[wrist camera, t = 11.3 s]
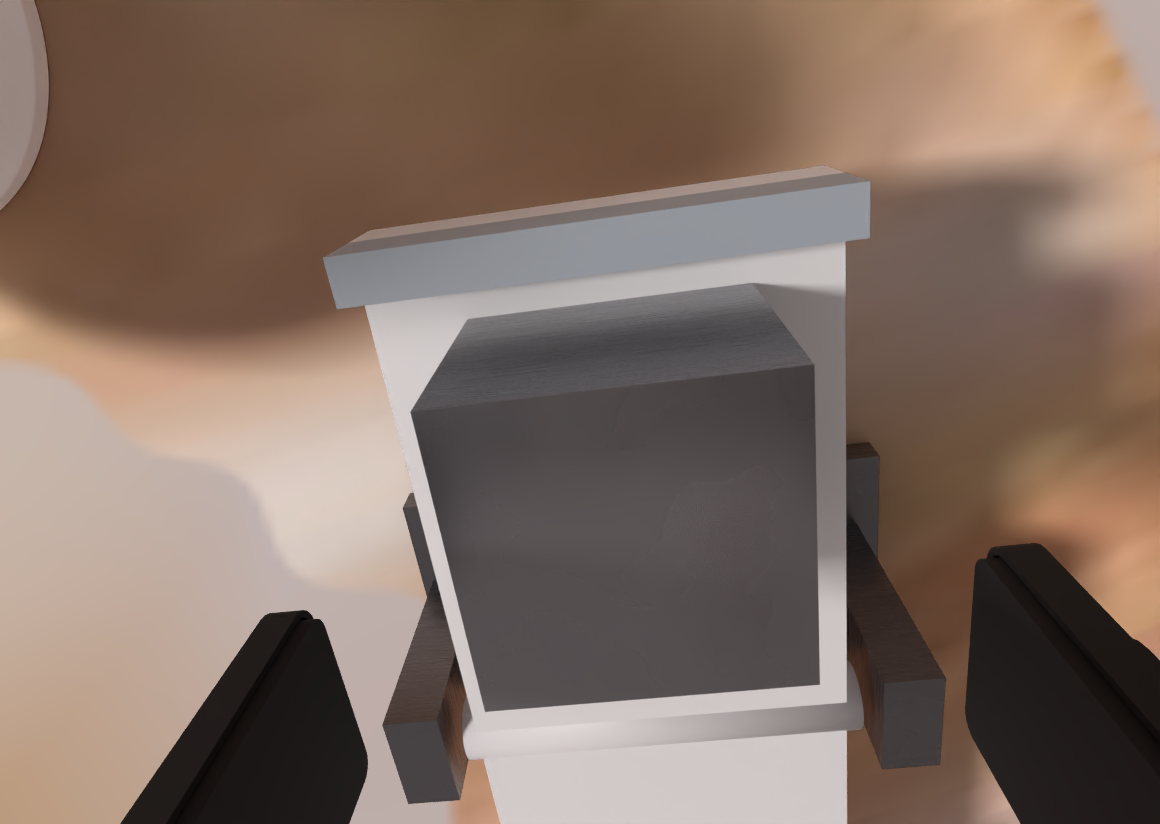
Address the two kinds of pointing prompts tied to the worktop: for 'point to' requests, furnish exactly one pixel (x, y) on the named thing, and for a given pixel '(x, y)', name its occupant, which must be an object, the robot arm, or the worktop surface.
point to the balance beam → (818, 323)
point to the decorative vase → (21, 93)
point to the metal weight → (628, 498)
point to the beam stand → (874, 648)
